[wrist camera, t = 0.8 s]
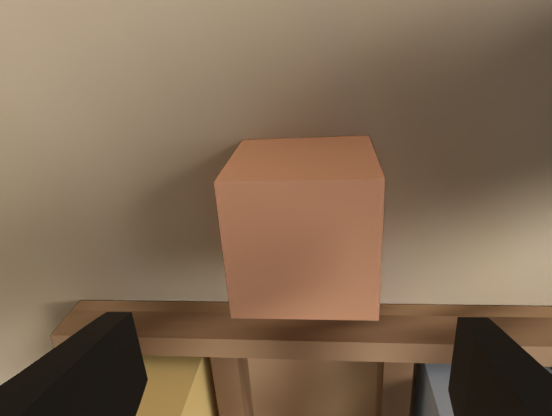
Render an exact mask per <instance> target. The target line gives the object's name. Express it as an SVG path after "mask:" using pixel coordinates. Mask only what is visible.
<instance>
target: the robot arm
mask: <svg viewBox="0 0 552 416" xmlns="http://www.w3.org/2000/svg"><path fill="white" fill-rule="evenodd" d="M147 381H148V378H147V374H146V369H145V365H144V361H143V357H142V353H141V348H140V344H139V340H138V336H137V331H136V327H135V323H134V319H133V315H132V312H106V313H104V314H102V315H101V316H99V317H98V318H96V319H95V320H93V321H92V322H90V323H89V324H87V325H86V326H85V327H83V328H82V329H80V330H79V331H77V332H76V333H75V334H73V335H72V336H71V337H69V338H68V339H66V340H65V341H64V342H62V343H61V344H59V345H58V346H57V347H55V348H54V349H52V350H51V351H50V352H48V353H47V354H45V355H44V356H43V357H41V358H40V359H38V360H37V361H35V362H34V363H33V364H31V365H30V366H28V367H27V368H26V369H24V370H23V371H21V372H20V373H18V374H17V375H16V376H14V377H13V378H11V379H10V380H8V381H7V382H5V383H4V384H2V385H0V416H136V414H137V411H138V408H139V405H140V403H141V400H142V396H143V393H144V390H145V387H146V384H147ZM448 392H449V396H450V401H451V405H452V410H453V414H454V416H552V374H551V373H550V372H549V371H548V370H547V369H545V368H544V367H543V366H542V365H541V364H540V363H539V362H537V361H536V360H535V359H534V358H533V357H532V356H531V355H530V354H529V353H527V352H526V351H525V350H524V349H523V348H522V347H521V346H520V345H519V344H517V343H516V342H515V341H514V340H513V339H512V338H511V337H510V336H509V335H508V334H506V333H505V332H504V331H503V330H502V329H501V328H500V327H499V326H498V325H496V324H495V323H494V322H493V321H492V320H491V319H490V318H488V317H458V318H457V326H456V333H455V341H454V348H453V356H452V363H451V371H450V379H449V386H448Z"/></svg>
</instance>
